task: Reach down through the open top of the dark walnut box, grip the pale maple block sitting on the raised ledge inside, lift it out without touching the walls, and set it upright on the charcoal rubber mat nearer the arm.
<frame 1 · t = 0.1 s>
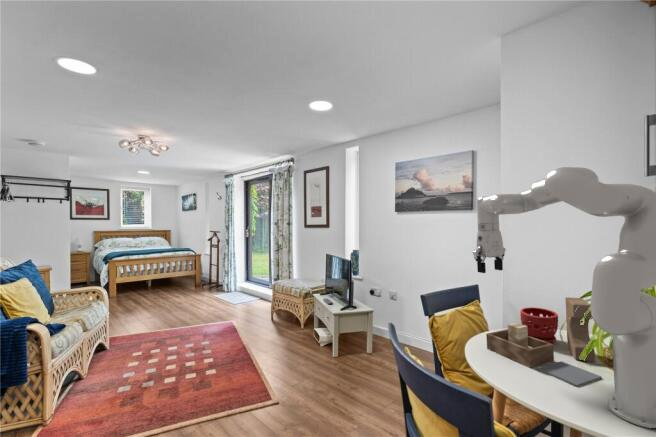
hand: (490, 271, 123), 31 cm above the table, tool pointing down, fingers open, 9 cm apart
decorative block: (580, 355, 116), on the table
maple block: (518, 346, 118), point 3 cm above the table, touching walnut box
walnut box: (518, 354, 118), on the table
mat: (568, 374, 103), on the table
plant pot: (539, 340, 131), on the table
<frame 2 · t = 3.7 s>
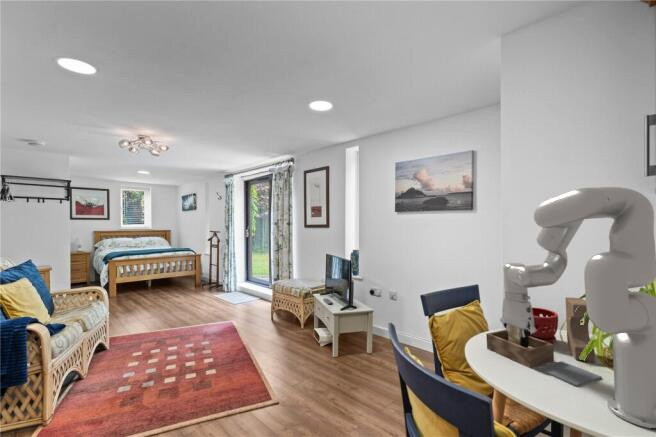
hand: (518, 344, 118), 4 cm above the table, tool pointing down, fingers closed on maple block, 4 cm apart
maple block: (518, 346, 118), point 3 cm above the table, touching gripper, walnut box
everything else where it was.
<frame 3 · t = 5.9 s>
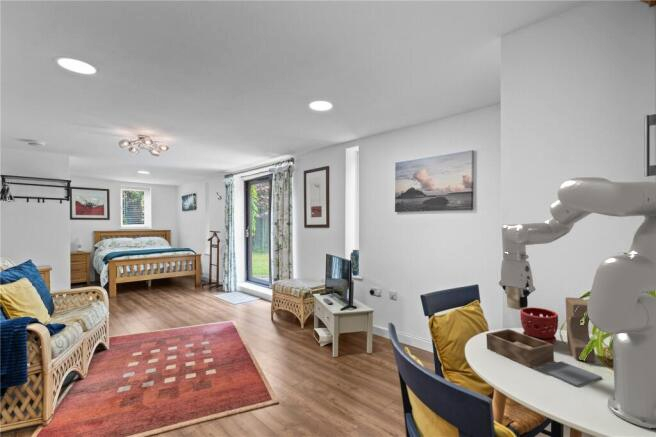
hand: (517, 305, 118), 19 cm above the table, tool pointing down, fingers closed on maple block, 4 cm apart
maple block: (517, 307, 118), point 18 cm above the table, touching gripper
everything else where it was.
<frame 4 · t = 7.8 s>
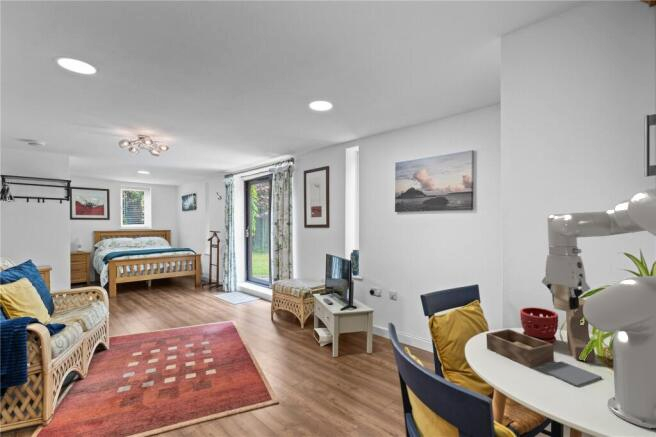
hand: (565, 306, 103), 22 cm above the table, tool pointing down, fingers closed on maple block, 4 cm apart
maple block: (565, 309, 103), point 21 cm above the table, touching gripper
everything else where it was.
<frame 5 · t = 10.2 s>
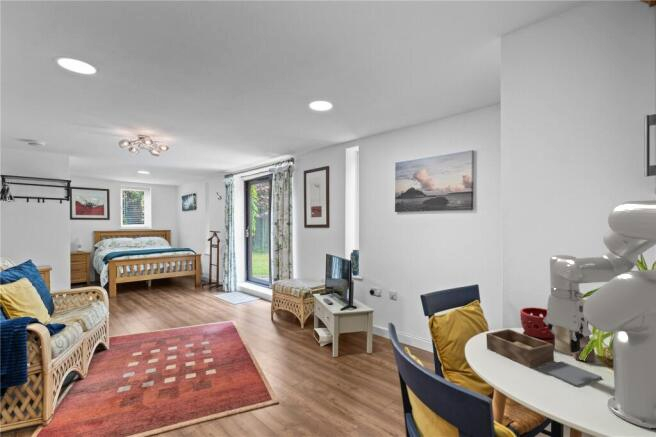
hand: (566, 347, 103), 8 cm above the table, tool pointing down, fingers closed on maple block, 4 cm apart
maple block: (566, 350, 103), point 7 cm above the table, touching gripper
everything else where it was.
when the fingers open (3 cm above the table, at t = 12.1 s): maple block drops 1 cm, resting on mat.
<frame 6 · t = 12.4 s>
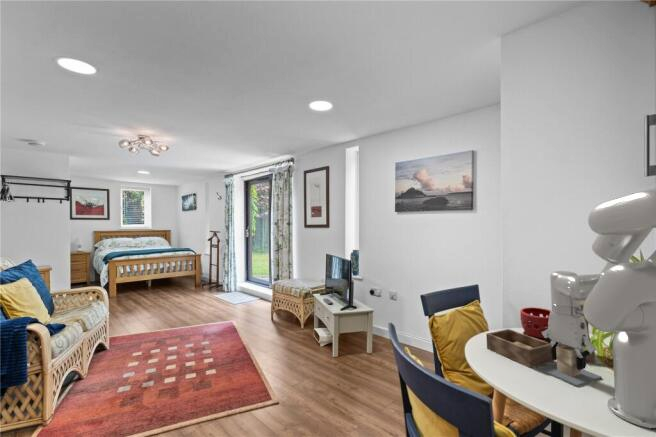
hand: (568, 363, 103), 3 cm above the table, tool pointing down, fingers open, 7 cm apart
maple block: (569, 372, 103), point 1 cm above the table, touching mat
everything else where it was.
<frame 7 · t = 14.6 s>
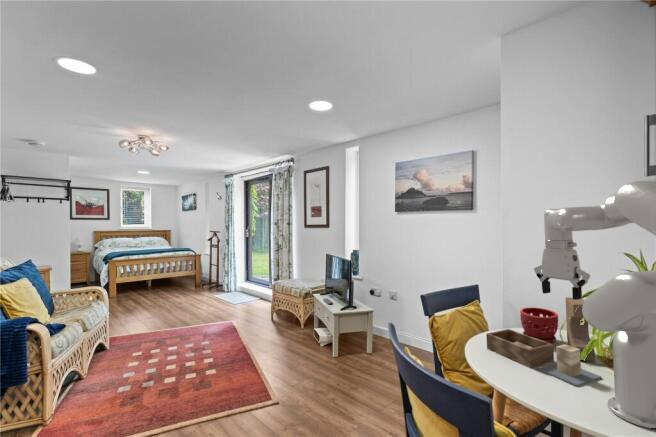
hand: (561, 295, 106), 25 cm above the table, tool pointing down, fingers open, 9 cm apart
nothing on the table moved.
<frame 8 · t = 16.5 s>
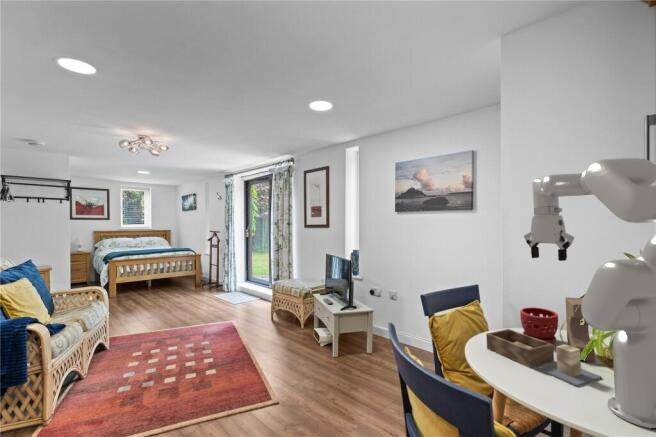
hand: (548, 259, 114), 36 cm above the table, tool pointing down, fingers open, 9 cm apart
nothing on the table moved.
at the end: maple block inside the target area on the mat (0.1 cm from its centre), point 0.6 cm above the mat's base; maple block tilted 0°; the gripper is holding nothing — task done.
